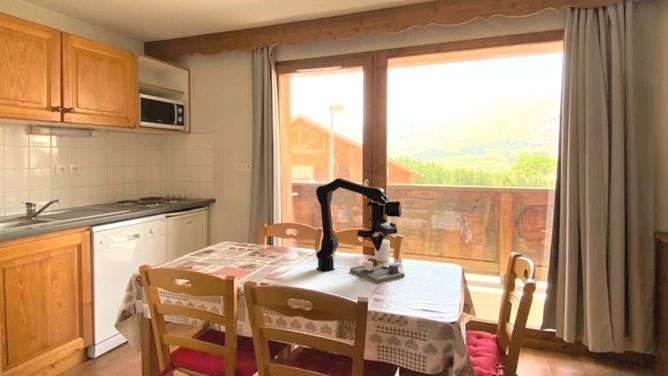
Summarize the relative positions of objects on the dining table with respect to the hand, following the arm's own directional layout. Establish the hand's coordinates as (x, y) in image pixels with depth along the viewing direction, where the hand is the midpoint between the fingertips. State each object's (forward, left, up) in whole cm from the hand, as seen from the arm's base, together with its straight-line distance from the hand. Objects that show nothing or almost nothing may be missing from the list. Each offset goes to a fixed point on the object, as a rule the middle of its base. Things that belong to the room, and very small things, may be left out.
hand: (377, 250), depth 180 cm
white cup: (+18, +18, -11) cm, 28 cm away
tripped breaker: (-5, 0, -9) cm, 10 cm away
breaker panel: (-1, 0, -11) cm, 11 cm away
